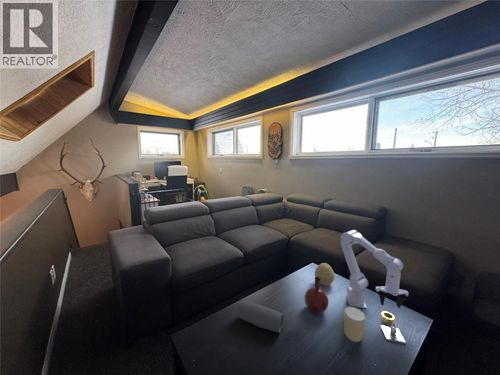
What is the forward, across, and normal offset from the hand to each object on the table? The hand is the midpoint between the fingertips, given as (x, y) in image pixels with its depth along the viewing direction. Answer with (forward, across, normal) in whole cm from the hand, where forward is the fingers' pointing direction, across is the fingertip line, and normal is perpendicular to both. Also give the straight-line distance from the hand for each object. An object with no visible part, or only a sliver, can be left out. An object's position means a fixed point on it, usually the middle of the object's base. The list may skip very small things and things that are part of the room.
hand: (389, 305), depth 105 cm
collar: (+9, 0, 0) cm, 9 cm away
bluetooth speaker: (+10, -67, -18) cm, 70 cm away
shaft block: (+9, -2, -9) cm, 13 cm away
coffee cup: (+10, -21, -14) cm, 27 cm away
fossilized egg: (+10, -30, +26) cm, 40 cm away
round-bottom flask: (+10, -38, -1) cm, 39 cm away
